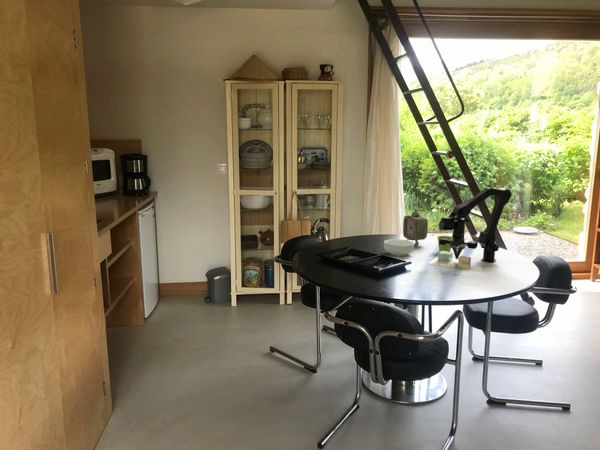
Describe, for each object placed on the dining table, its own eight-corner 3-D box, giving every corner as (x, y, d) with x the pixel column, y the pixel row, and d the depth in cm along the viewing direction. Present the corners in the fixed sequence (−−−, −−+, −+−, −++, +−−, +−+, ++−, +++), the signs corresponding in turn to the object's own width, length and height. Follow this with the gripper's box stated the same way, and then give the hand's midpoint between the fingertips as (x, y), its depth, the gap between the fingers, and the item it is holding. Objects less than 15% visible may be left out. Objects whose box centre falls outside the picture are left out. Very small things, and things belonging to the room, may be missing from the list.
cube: (460, 265, 249) (461, 255, 248) (470, 266, 246) (471, 257, 245) (457, 267, 244) (458, 258, 244) (468, 269, 242) (468, 259, 241)
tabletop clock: (402, 242, 300) (404, 202, 296) (415, 241, 303) (417, 202, 299) (414, 247, 287) (416, 206, 282) (427, 246, 290) (429, 205, 285)
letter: (437, 256, 266) (437, 256, 266) (461, 259, 259) (461, 259, 259) (427, 263, 251) (427, 263, 251) (453, 267, 244) (453, 267, 244)
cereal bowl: (405, 259, 259) (406, 246, 258) (378, 255, 269) (378, 242, 268) (418, 253, 272) (419, 241, 271) (391, 249, 282) (392, 237, 281)
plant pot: (456, 253, 273) (457, 238, 272) (443, 255, 270) (444, 239, 268) (446, 249, 282) (447, 235, 280) (432, 251, 278) (433, 236, 277)
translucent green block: (440, 258, 262) (441, 250, 262) (452, 259, 259) (452, 252, 258) (437, 260, 257) (437, 253, 256) (449, 262, 254) (449, 254, 253)
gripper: (436, 230, 250) (434, 259, 253) (474, 234, 240) (471, 265, 243) (442, 227, 259) (440, 255, 262) (478, 231, 250) (476, 260, 252)
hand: (456, 259), depth 255 cm, fingers closed
